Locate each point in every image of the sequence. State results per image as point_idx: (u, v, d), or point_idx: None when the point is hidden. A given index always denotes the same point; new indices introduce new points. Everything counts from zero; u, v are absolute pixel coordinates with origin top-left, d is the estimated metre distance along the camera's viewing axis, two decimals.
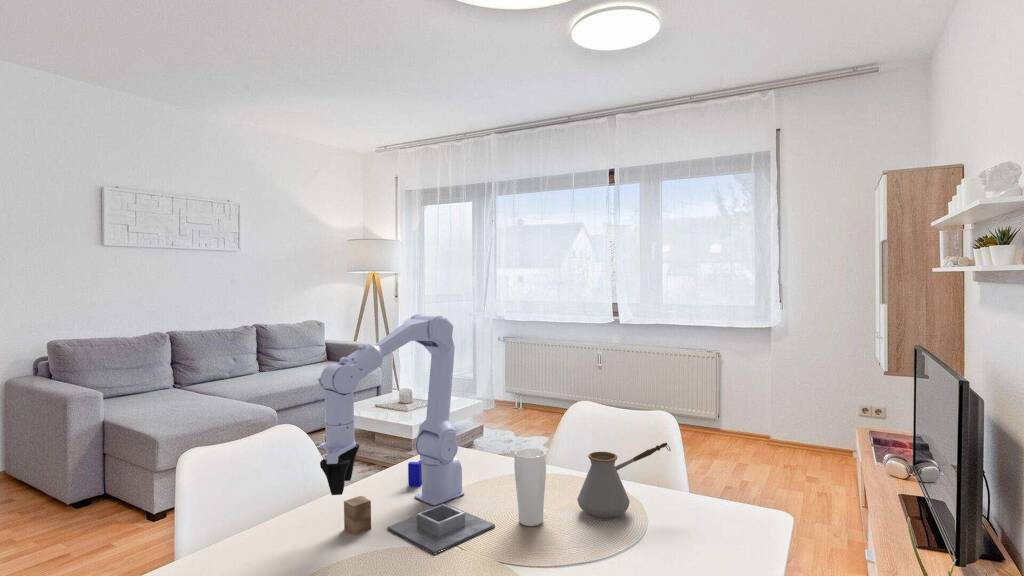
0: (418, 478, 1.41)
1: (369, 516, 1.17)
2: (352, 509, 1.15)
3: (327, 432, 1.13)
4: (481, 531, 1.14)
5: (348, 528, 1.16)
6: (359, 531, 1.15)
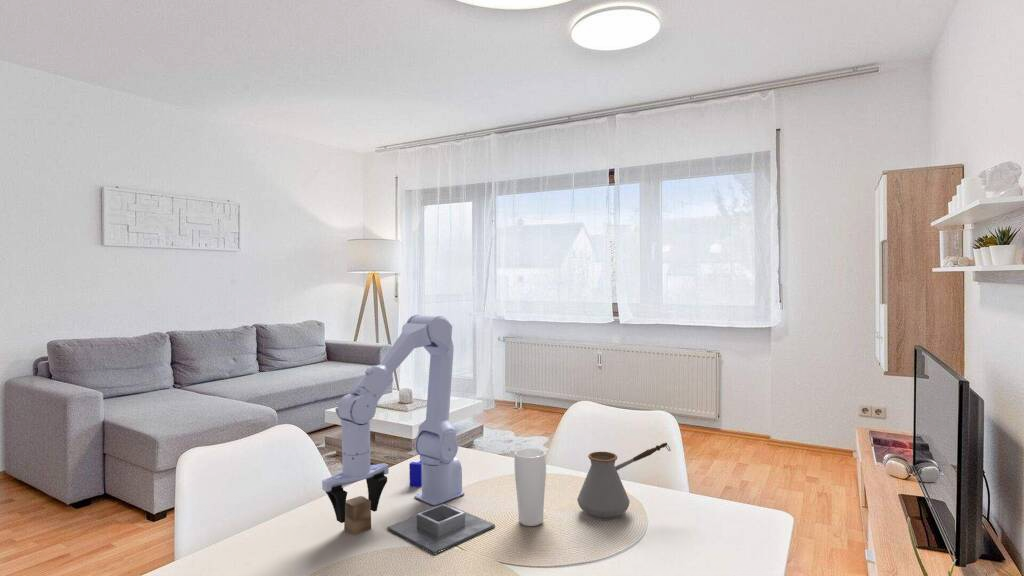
0: (419, 478, 1.41)
1: (369, 516, 1.17)
2: (352, 509, 1.15)
3: None
4: (481, 531, 1.14)
5: (348, 528, 1.16)
6: (359, 531, 1.15)
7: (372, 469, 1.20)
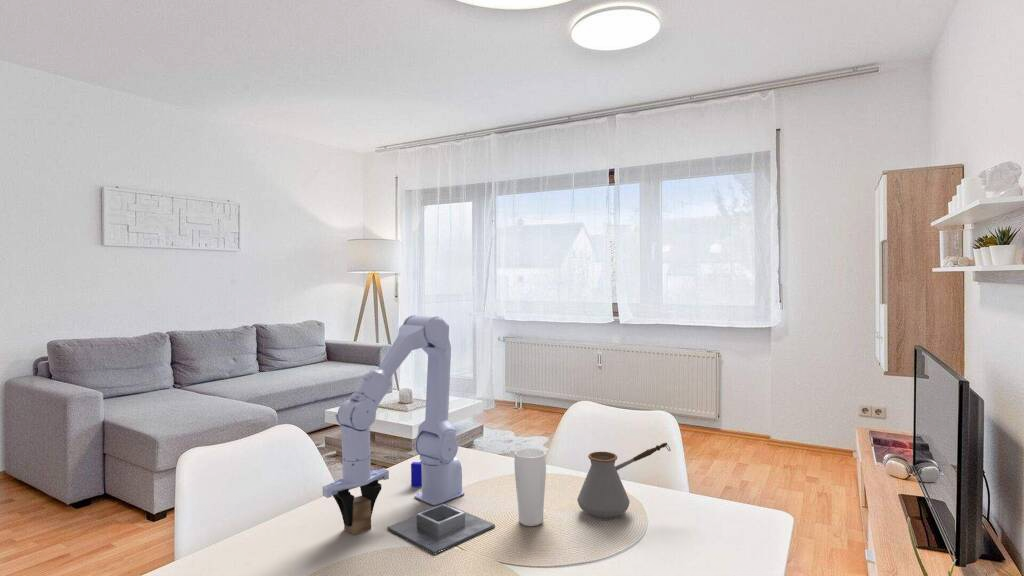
0: (421, 478, 1.41)
1: (369, 516, 1.17)
2: (352, 509, 1.15)
3: None
4: (481, 531, 1.14)
5: (348, 528, 1.16)
6: (359, 531, 1.15)
7: (372, 475, 1.20)
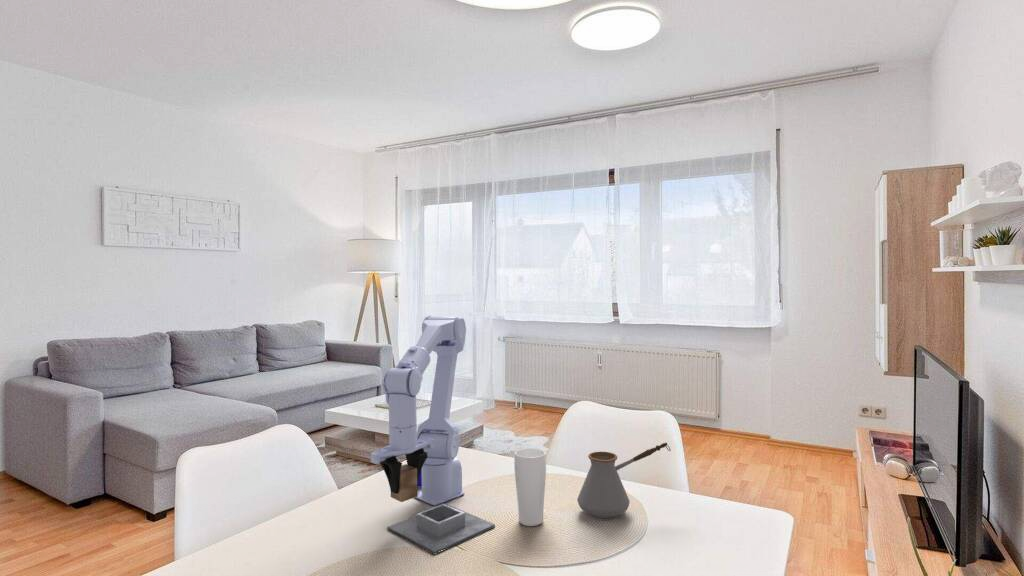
0: None
1: (415, 484, 1.17)
2: None
3: None
4: (481, 531, 1.14)
5: (395, 495, 1.16)
6: (406, 498, 1.15)
7: (418, 443, 1.19)
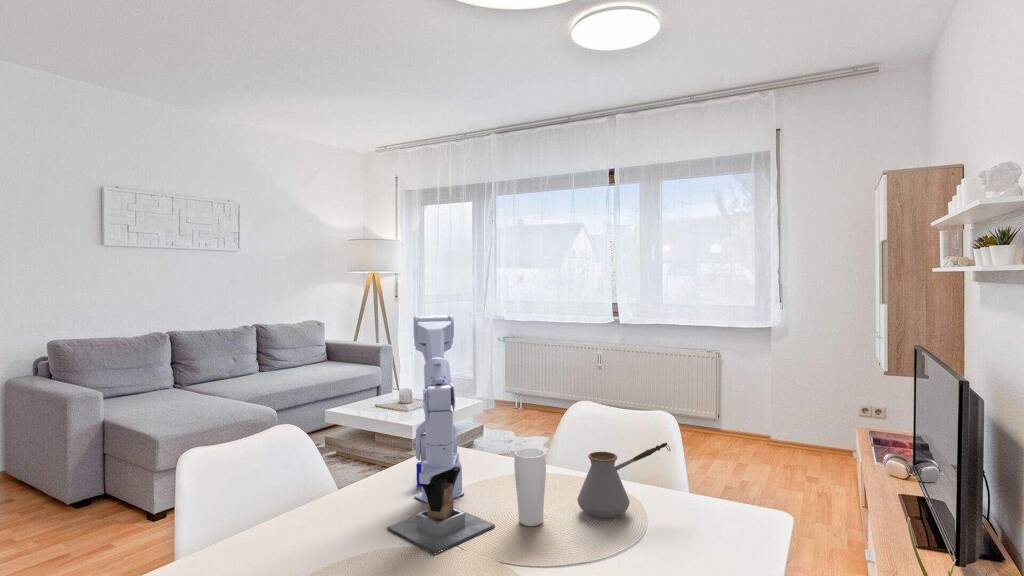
0: None
1: (452, 499, 1.18)
2: None
3: (426, 451, 1.16)
4: (481, 531, 1.14)
5: (434, 514, 1.15)
6: (447, 515, 1.16)
7: None
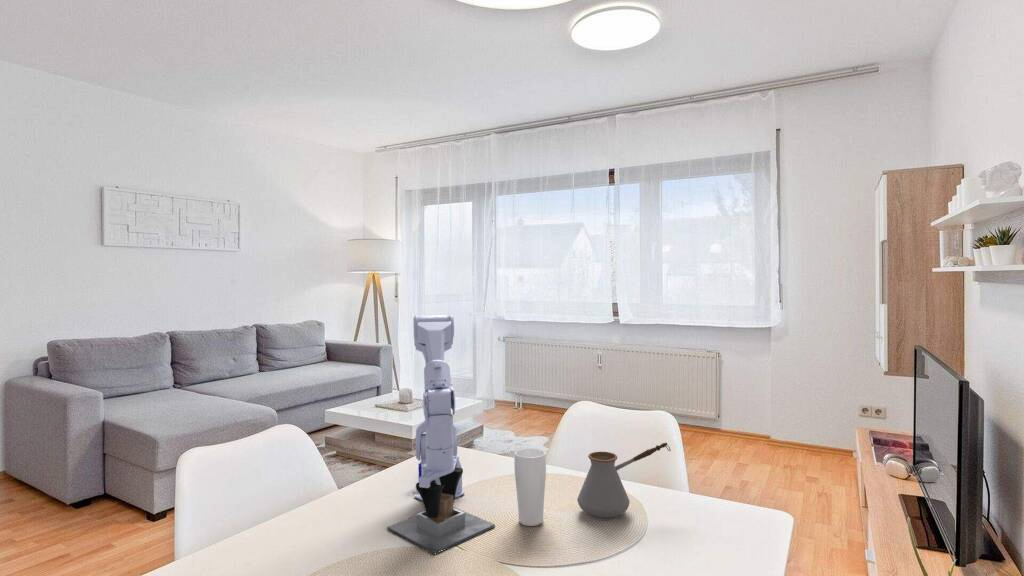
0: None
1: (452, 510, 1.18)
2: (442, 505, 1.15)
3: (426, 454, 1.16)
4: (481, 531, 1.14)
5: None
6: None
7: None
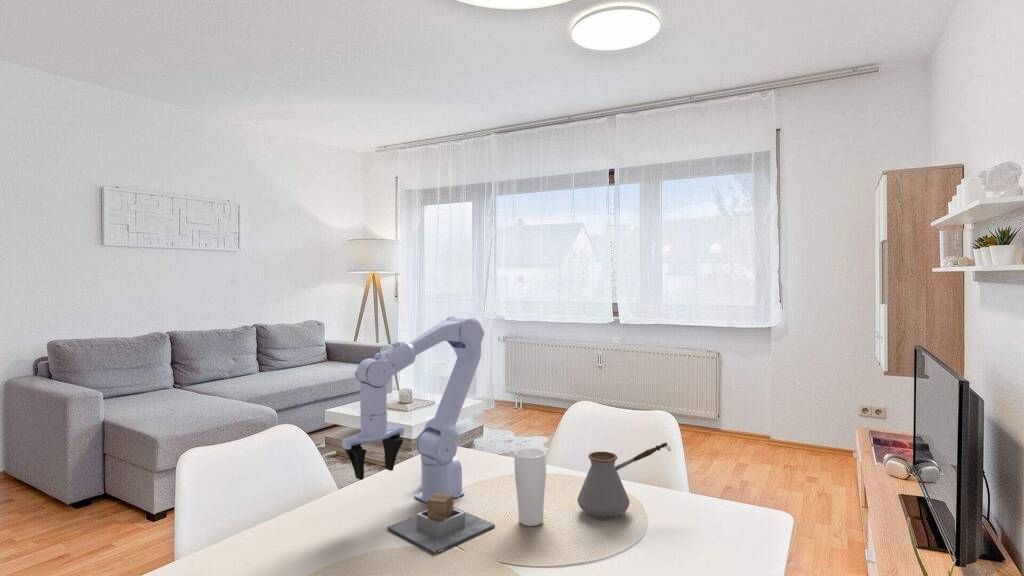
0: None
1: (452, 510, 1.18)
2: (442, 505, 1.15)
3: None
4: (481, 531, 1.14)
5: None
6: None
7: (388, 430, 1.26)
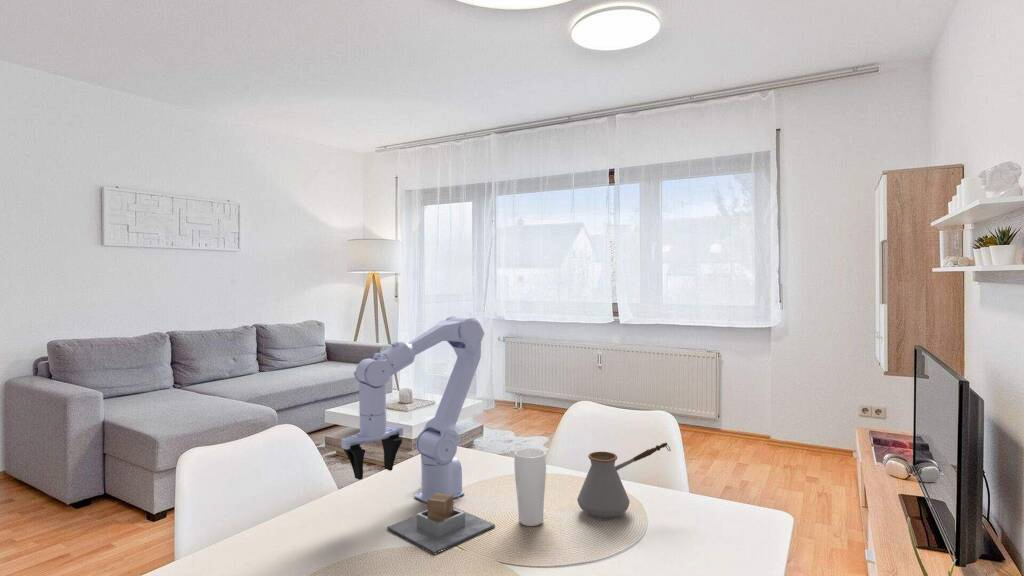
0: None
1: (452, 510, 1.18)
2: (442, 505, 1.15)
3: None
4: (481, 531, 1.14)
5: None
6: None
7: (388, 430, 1.26)
